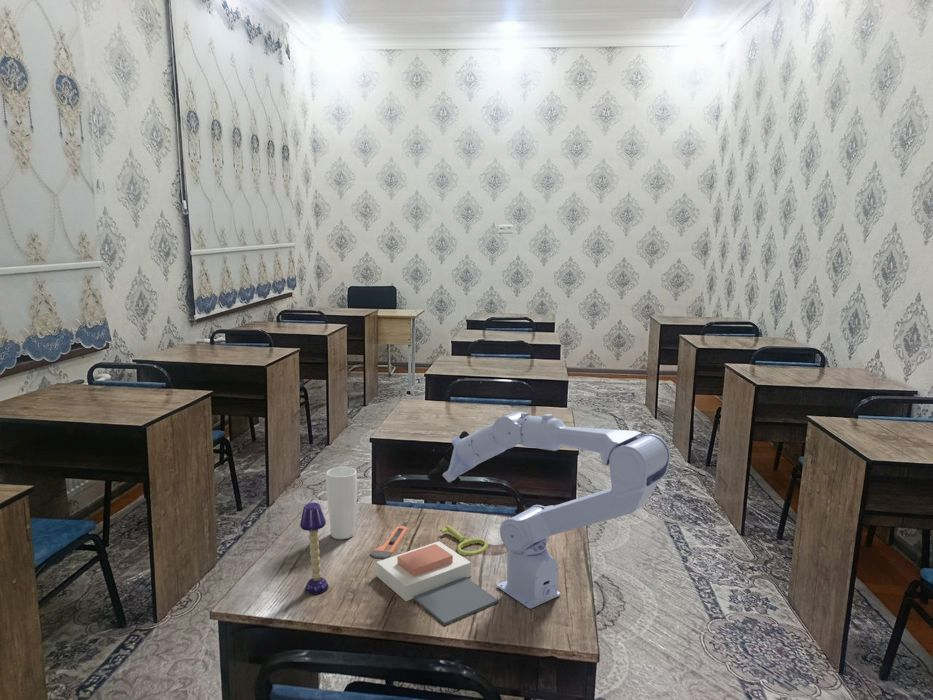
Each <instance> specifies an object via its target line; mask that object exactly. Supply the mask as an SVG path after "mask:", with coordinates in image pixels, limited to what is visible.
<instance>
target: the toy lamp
mask: <svg viewBox="0 0 933 700" xmlns="http://www.w3.org/2000/svg"><path fill="white" fill-rule="evenodd" d="M300 518H301V519H300V524H299V525H300V528H301V529H302V530H303V531H307V532H308V534H309V536H308V539H309V548H310V550H309V555H310V563H311V565H310V566H311V578H310V579H308V581H307V582H306V584H305V591H306V593H308V594H310V595H319V594H322V593H323V594H324V593H325V592H326V591H327V590H328V589H329V583H328V581H327V580H326V579H325V578H324V577H322V572H321V569H322V567H321V564H320V563H321V558H320V548H319V547H320V542H319V538H320V537H319V534H318V533H319V530H320V529H322V528H324V527H325V526H326V525H327V524H326V522H327V520H326V518H325V514H324V512H323V509H322V507H321V504H320V503H319V502H308V503H306V504H305V505H304V506H303V509H302V513H301V517H300Z"/></svg>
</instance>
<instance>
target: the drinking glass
mask: <svg viewBox="0 0 933 700" xmlns="http://www.w3.org/2000/svg"><path fill="white" fill-rule="evenodd" d="M325 474H326V475H325V489H326V501H327V507H328V508H327V509H328V515H329V516H328V517H329V528H330V529H329V530H330V536H331V538H333V539H335V540H347V539H350V538H352V537H353V536H354V535H355V531H356V526H355V525H356V511H357V500H358V499H357V497H358V474H357V469H356V468H354V467H351V466H336V467H332V468H330V469H328V470H327V471H326V472H325Z"/></svg>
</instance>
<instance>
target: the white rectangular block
mask: <svg viewBox="0 0 933 700" xmlns="http://www.w3.org/2000/svg"><path fill="white" fill-rule="evenodd" d="M434 544H436V545H438V546H439V547H441V548H442V549H444V550H445V551H447V552H448V553H450V554H451V555H453V563H450V564H448V565H445V566H442V567H439V568H437V569H434V570H431V571H428V572H425V573H423V574H420V575H417V576H412V575H411V574H410V573H409V572H407V571H406V570H405V569H404V568H402V567H401V566H400V565H398V564H397V557H398V556H401V555H404V554H407V553H410V552H413V551H416V550H419V549H422V548H425V547H428V546H431V545H434ZM375 563H376V569H375V570H376V577H377V579H379V580H381V582H383V583H384V584H385V585H386V587H389V588H390V589H391V590H392V591H393V592H395V594H397V595H398V596H399V597H401V599H403V600H404V601H405V602H407V601H411V600H414V599H413V597H414V596H417V595H419V594H422V593H425V592H427V591H430V590H432V589H435V588H438V587H440V586H443V585H445V584H448V583H451V582H453V581H456V580H458V579H461V578H464V577H466V578H468V579H469V578H470V577H471V576H472V573H471V572H472V562H471V561H470V560H468V559H466V558H465V557H464V556H462V555H461V554H459V553H458V552H456V551H454V549H452V548H450V547H448V546H447V545H446V544H444V543H443V542H441V541H436V542H432V543H430V544H427V545H423V546H420V547H418V548H415V549H412V550H409V551H406V552H403V553H399V554H396V555H394V556H390V558H387V559H380V560H378V561H376V562H375Z"/></svg>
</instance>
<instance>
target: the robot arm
mask: <svg viewBox="0 0 933 700" xmlns="http://www.w3.org/2000/svg"><path fill="white" fill-rule="evenodd" d="M639 435H641V436H639ZM451 444H452V445H451V446H450V447H448V449H447V450H446V451H445V452H444V456H445V457H446V458H447V459H448V460H449V461H448V460H447V459H446V458H445V457H442V459H440V461H439V462H438V464H437V466H436V467H435V468H434V469H433V470H431V471H430V473H429V474H428V475H427V479H428V480H430V482H431V483H432V484H433V485H435V484H449V485H451V486H453V487H454V486H457V485H458V484H459V482H460V481H461V478H460V477H459V476H461V475H462V474H464V473H466V472H468V471H469V470H472V469H474V468H475V467H477V465H479V464H481V463H483V462H485V461H487V460H490V459H491V458H494V457H495V456H498V455H499V454H501V453H504V452H506V450H509V449H512V448H515V447H516V446H517V445H521V446H522V447H527V448H534V449H535V448H536V449H538V450H539V449H540V450H547V451H554V452H555V451H558V450H560V449H561V448H562V447H563V446H566V447H570V448H575V449H580V450H585V451H590V452H594V453H598V454H599V456H600V458H601V461H602V463H603V466H605V467H607V466H609V473H610V474H609V475H610V482H611V487H610V488H606V489H603V490H599V491H597V492H593V493H590V494H589V495H585V496H582V497H578V498H576V499H572V500H569V501H565V502H562V503H560V504H559V503H558V504H555V505H553V504H552V505H547V506H544V505H541V504H534V505H532V506H530V507H529V508H528V509H526V510H524V511H522V512H520V513H518V514H516V515H514V516H513V517H510V518H506V519H504V520H503V522H502V523H501V525H500V526H499V527H500V528H499V536H500V539H501V542H502V544H503V545H504V546H505V549H506V550H507V560H506V562H507V563H506V564H507V565H506V580H504V581H502V582H499V583H497V584H496V587H497V588H498V589H500V590H501V591H503V592H504V593H505V594H507V595H509V597H511V598H513V599H514V600H515V601H517V602H519V603H520V604H522V605H523V606H524V607H526V608H527V609H533V608H536V607H537V606H539V605H542V604H544V603H546V602H548V601H550V600H553V599H555V598H557V597H559V596H561V592H560V591H559V590H558V581H559V580H558V579H559V563H558V562H557V560H556V559H555V558H554V557H553V556H552V555H551V554H550V553H549V551H548V549H547V544H548V538H549V537H551V536H554V535H558V534H561V533H566V532H569V531H571V530H572V531H573V530H576V529H579V528H583V527H587V526H591V525H593V524H597V523H601V522H604V521H608V520H613V519H615V518H620V517H623V516H627V515H630V514H633V513H634V512H636V511H637V510H639V509H640V508H642V507H643V506H644V505H645V504H646V502H647V501H648V499H649V498H650V496H651V495H652V493H653V492H654V490H655V489H656V487H657V486H658V485H659V483H660V482H661V480H663V478H665V476H667V474H668V472H669V467H670V461H671V450H670V448H669V445H668V444H667V442H666V440H664V439H663V438H662V437H661V436H659V435H657V434H653V433H645V434H643V435H642V432H640V431H636V430H629V429H628V430H627V429H611V428H610V429H608V428H598V427H597V428H596V427H595V428H594V427H579V426H566V425H565V423H564V421H562V419H560V418H556V417H553V414H551V413H545V414H543V415H541V416H538V415H530V414H529V412H523V411H515V412H513V413H511V414H510V413H509V414H506V415H503V416H500V417H499V418H497V419H495V421H494V423H492V424H488V425H487V426H484V428H479V429H477V430H474V431H473V433H472V434H469V432H468V431H466V430H463V431H462V432H461V433H460V434H459V436H458V435H457V436H454V438H452V440H451Z"/></svg>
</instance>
